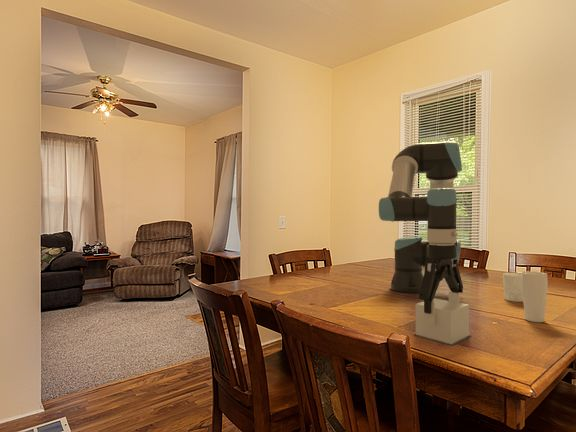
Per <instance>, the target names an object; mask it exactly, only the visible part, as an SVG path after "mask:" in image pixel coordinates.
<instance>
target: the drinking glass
mask: <svg viewBox="0 0 576 432" xmlns="http://www.w3.org/2000/svg"><path fill="white" fill-rule="evenodd" d="M521 273H522V293H523V302H522V303H523V311H524V313H523V314H524V315H523V317H524V319H525V320H526V321H528V322H531V323H543V322H545V319H546V306H547V296H548V273H546V272H543V271H532V270H529V271H528V270H526V271H522V272H521Z"/></svg>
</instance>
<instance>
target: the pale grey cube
mask: <svg viewBox="0 0 576 432" xmlns="http://www.w3.org/2000/svg"><path fill="white" fill-rule="evenodd" d="M433 301H435V326H430V325H426V324H424V301H421V302H418V303H415V334H416V335H419V336H423V337H427V338H430V339H434V340H438V341H441V342H445V343H449V344H453V343H455V342H457V341H459V340H461V339H463V338H465V337H467V336H469V335H470V304H467V303H462V302H459V303H458V302H452V301H449V300H447V299H440V298H436V297H434V299H433Z"/></svg>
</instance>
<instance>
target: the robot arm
mask: <svg viewBox="0 0 576 432" xmlns="http://www.w3.org/2000/svg"><path fill="white" fill-rule="evenodd" d="M391 170H392V175H391V176H392V177H391V181H390V185H389V190H388V193H387V194H388V195H387V196H386V197H382V198H380V199H379V202H378V217H379V219H380V220H381V221H382V222H392V223H394V222H427V227H426V228H427V230H426V232H427V233H426V235H427V236H426V238H427V239H423V237H422V236H421V235H420V236H417V235H416V236H409V237H402V238H397V239H396V240H395V241H394V273H393V276H392V280H391V282H390V289H391V290H392V291H395V292H399V293H407V294H408V293H409V294H410V293H411V294H413V293H414V294H416V293H418V299H419V300H420V301H423V302H424V324H426V325H430V326H435V301H433V299H434V298H435V295H436V293H437V291H438V288H439V285H440V283H441V281H443V280H445V282H446V284H447V286H448V289H449V290H450V291H448V301H452V302H458V303H460V294H461V293H462V294H463V291H464V285H463V281H462V277H461V272H460V269H459V261H460V257H461V256H460V255H461V250H462V249H461V247H462V245H461V241H460V240H458V237H457V236H458V232H457V202H458V201H457V200H458V199H457V192H456V189H455V188H454V180H456V179H457V178H458V177H459V176H458V175H459V173H460V172H462V171H463V167H462V158H461V153H460V146H459V143H458V142H456V141H445V140H444V141H436V142H435V141H433V142H423V143H415V144H411V145H409V146H407V147H405V148H403V149H401V151H400V152H399V153H398V154H397V155H396V156H395V157H394V159H393V161H392V165H391ZM416 174H425V178H426V179H427V180H428V181H429V186H430V187H429V189H428V191H427V195H426V196H413V190H414V181H415V180H414V179H415V175H416ZM423 267H424V272H423Z"/></svg>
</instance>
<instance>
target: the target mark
mask: <svg viewBox="0 0 576 432" xmlns="http://www.w3.org/2000/svg"><path fill="white" fill-rule="evenodd" d="M413 336H415V337H418V338H419V337H420V338H423V339H426V340H430V341H433V342H437V343H441V344H445V345H448V346H455V345H456V344H459V343H461V342H463V341H465V340H467V339H469V338H471V337H472V335H471V334H469V336H467V337H465V338H463V339H461V340H459V341H457V342H455V343H453V344H449V343H445V342H441V341H438V340H434V339H430V338H427V337H423V336H419V335H416V333H414V334H413Z"/></svg>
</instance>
